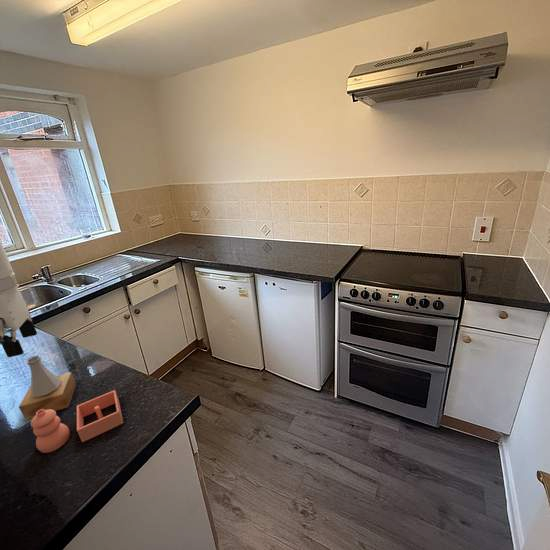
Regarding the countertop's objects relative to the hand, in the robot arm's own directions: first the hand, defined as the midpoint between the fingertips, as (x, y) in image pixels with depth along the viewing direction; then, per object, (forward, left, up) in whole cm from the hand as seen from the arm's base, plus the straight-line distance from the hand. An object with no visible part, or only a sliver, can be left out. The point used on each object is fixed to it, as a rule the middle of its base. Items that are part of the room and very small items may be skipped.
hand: (23, 345), depth 78 cm
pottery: (+11, -16, -20) cm, 27 cm away
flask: (+1, 0, -15) cm, 15 cm away
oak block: (+1, 0, -20) cm, 20 cm away
